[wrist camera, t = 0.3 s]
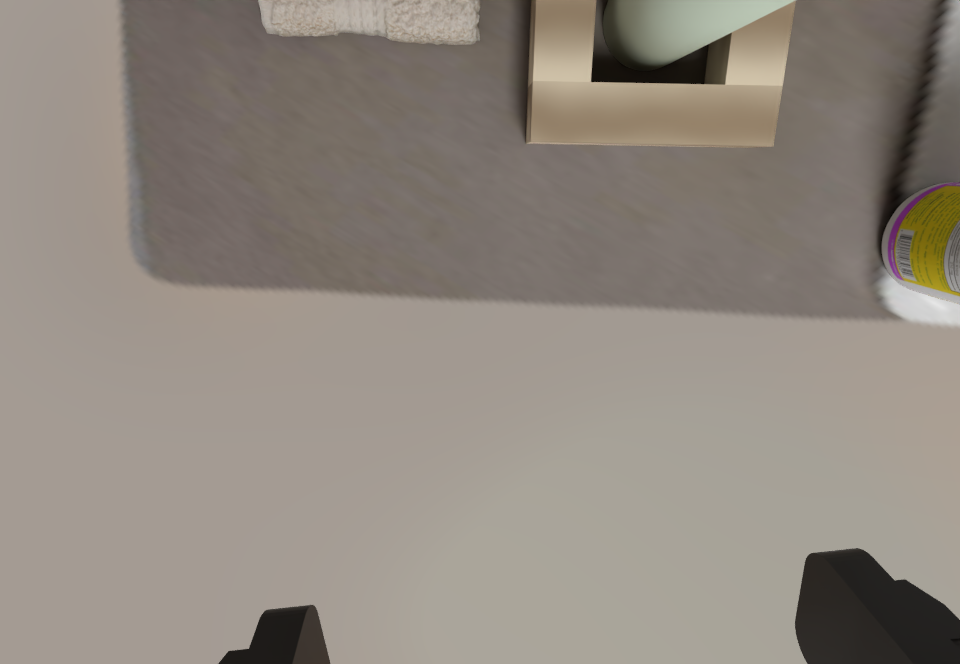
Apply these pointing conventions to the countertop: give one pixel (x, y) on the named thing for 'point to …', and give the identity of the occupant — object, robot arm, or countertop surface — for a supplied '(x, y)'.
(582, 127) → the pocket block
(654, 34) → the green cylinder
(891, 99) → the countertop surface
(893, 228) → the supplement bottle
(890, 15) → the countertop surface
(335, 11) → the washcloth
